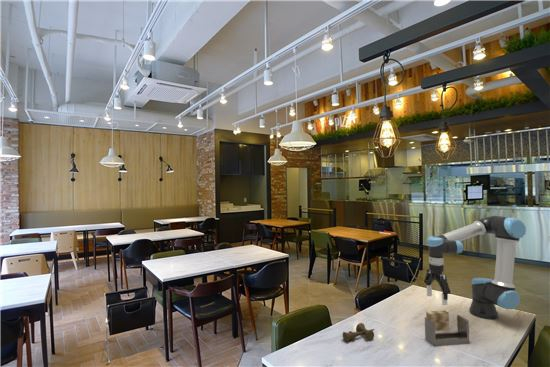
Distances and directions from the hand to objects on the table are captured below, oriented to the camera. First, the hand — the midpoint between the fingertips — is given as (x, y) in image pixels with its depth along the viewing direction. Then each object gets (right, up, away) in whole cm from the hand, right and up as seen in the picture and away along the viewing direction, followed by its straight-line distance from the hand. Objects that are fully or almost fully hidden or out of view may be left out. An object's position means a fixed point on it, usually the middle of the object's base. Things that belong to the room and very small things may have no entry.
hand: (436, 300), depth 169 cm
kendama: (-48, -18, -9) cm, 52 cm away
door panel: (0, -17, 0) cm, 17 cm away
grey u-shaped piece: (-2, -17, -14) cm, 22 cm away
